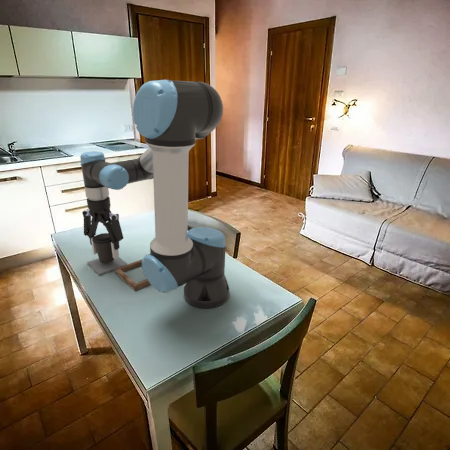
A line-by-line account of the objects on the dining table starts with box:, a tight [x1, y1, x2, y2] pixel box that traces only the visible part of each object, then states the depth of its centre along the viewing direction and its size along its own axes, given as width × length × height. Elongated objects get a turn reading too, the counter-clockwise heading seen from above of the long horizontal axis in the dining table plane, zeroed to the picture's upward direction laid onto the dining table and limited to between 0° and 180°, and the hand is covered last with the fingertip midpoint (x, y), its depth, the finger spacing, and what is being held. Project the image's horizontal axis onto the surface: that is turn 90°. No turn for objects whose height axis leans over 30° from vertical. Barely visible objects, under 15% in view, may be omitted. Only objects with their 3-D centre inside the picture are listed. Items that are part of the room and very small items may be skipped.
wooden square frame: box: [115, 259, 152, 292], centre depth 116 cm, size 14×14×3 cm
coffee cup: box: [92, 232, 114, 263], centre depth 119 cm, size 8×8×10 cm
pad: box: [86, 255, 128, 277], centre depth 122 cm, size 11×11×1 cm
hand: (106, 254), depth 120 cm, fingers closed on coffee cup, 8 cm apart
